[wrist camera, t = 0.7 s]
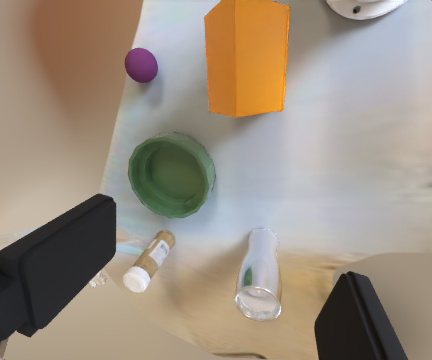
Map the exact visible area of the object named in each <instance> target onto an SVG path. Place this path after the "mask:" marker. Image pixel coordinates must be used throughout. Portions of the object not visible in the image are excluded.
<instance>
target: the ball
mask: <svg viewBox="0 0 432 360" xmlns="http://www.w3.org/2000/svg"><path fill="white" fill-rule="evenodd" d="M125 68H126V71H127V73H128V75H129V76H130V77H131V78H132V79H133V80H135V81H137V82H139V83H147V82H150V81H152V80H153V79H154V78H155V76H156V74H157V70H158V65H157V61H156V59H155V57H154V56H153V55H152V53H150V52H149V51H148V50H146V49H143V48H135V49H133V50H131V51H130V52H129V53H128V54H127V56H126V58H125Z"/></svg>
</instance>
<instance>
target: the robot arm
mask: <svg viewBox="0 0 432 360" xmlns="http://www.w3.org/2000/svg"><path fill="white" fill-rule="evenodd" d="M326 1H327V3H328V4H329V6H330V7H331V8H332V9H333V10H334V11H335V12H337V13H338V14H340V15H342V16H344V17H347V18H351V19H357V20H365V19H371V18H376V17H379V16H382V15H384V14H387V13H388V12H390V11H392V10H394V9H396V8H397V7H399V6H400V5H402V4H403V3H405V2H406V1H407V0H326ZM354 9H356V10H357V12H356V13H353V10H354ZM115 252H116V203H115V202H114V200H113V198H112V197H109V196H106V195H103V194H96V195H95V196H93V197H91V198H89V199H88V200H86V201H85V202H83V203H81V204H79V205H77V206H76V207H74V208H72V209H71V210H69V211H67V212H65V213H64V214H62V215H60V216H59V217H57V218H55V219H54V220H52V221H50V222H48V223H47V224H45V225H43V226H41V227H40V228H38V229H36V230H35V231H33V232H31V233H29V234H28V235H26V236H24V237H23V238H21V239H19V240H17V241H16V242H14V243H12V244H11V245H9V246H7V247H5V248H4V249H2V250H0V360H5V359H3V355H4V352H5V349H6V345H7V342H8V338H9V336H10V335H11V334H12V333H14V332H15V331H16V330H17V332H18V333H21V334H23V335H25V336H28V337H31V336H32V335H33V334H34V333H35V332H36V331H37V330H38V329H43V328H44V327H46V326H47V325H48V324H49V323H50V322H51V321H52V319H54V318H55V317H56V316H57V314H58V313H59V312H60V311H61V310H62V309H63V308H64V307H65V306H66V305H67V304H68V303H69V302H70V301H71V300H72V299H73V298H74V297H75V296H76V295H77V294H78V293H79V292H80V291H81V290H82V289H83V288H84V287H85V286H86V285H87V284H88V283H89V282H90V281H91V280H92V279H93V278H94V277H95V276H96V275H97V273H98V272H99V271H100V270H101V269H102V268H103V267H104V266H105V265H106V264H107V263H108V262H109V261H110V260H111V259H112V258H113V257H114V255H115ZM314 330H315V337H316V344H317V350H318V357H319V360H408V358H407V356H406V354H405V353H404V350H403V348H402V346H401V344H400V342H399V340H398V338H397V336H396V333H395V331H394V329H393V327H392V325H391V323H390V321H389V319H388V317H387V315H386V313H385V311H384V309H383V306H382V304H381V303H380V300H379V298H378V296H377V294H376V292H375V290H374V288H373V286H372V284H371V282H370V280H369V278H368V277H367V276H364V275H360V274H357V273H354V272H351V271H349V272H347V274H341V276H340V278H339V280H338V281H337V283H336V285H335V286H334V288H333V290H332V292H331V294H330V295H329V297H328V299H327V301H326V303H325V304H324V306H323V308H322V310H321V312H320V313H319V315H318V317H317V319H316V321H315V326H314Z"/></svg>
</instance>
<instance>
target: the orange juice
mask: <svg viewBox="0 0 432 360" xmlns="http://www.w3.org/2000/svg"><path fill="white" fill-rule="evenodd" d="M289 16H290V6H289V5H287V6H286V5H283V4H280V3H277V2H274V1H271V0H221V1H220V2H219V3H218V4H217V5H216V6H215V7H214V8H213V9H212V10H211V11H210V12H209V13H208V14H207V15H206V16H205V17H204V21H205V41H206V60H207V80H208V99H209V112H210V113H212V112H213V113H217V114H222V115H226V116H231V117H241V116H248V115H255V114H261V113H268V112H274V111H283V110H284V94H285V82H286V81H285V78H286V63H287V47H288V34H289V33H288V32H289Z"/></svg>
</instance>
